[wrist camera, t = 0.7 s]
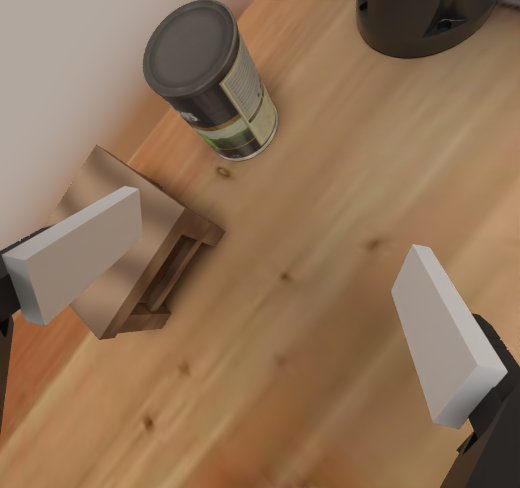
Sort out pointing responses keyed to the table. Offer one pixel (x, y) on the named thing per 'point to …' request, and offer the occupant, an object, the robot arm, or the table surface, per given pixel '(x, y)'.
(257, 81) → the coffee can
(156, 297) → the stool
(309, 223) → the table surface
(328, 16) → the table surface
